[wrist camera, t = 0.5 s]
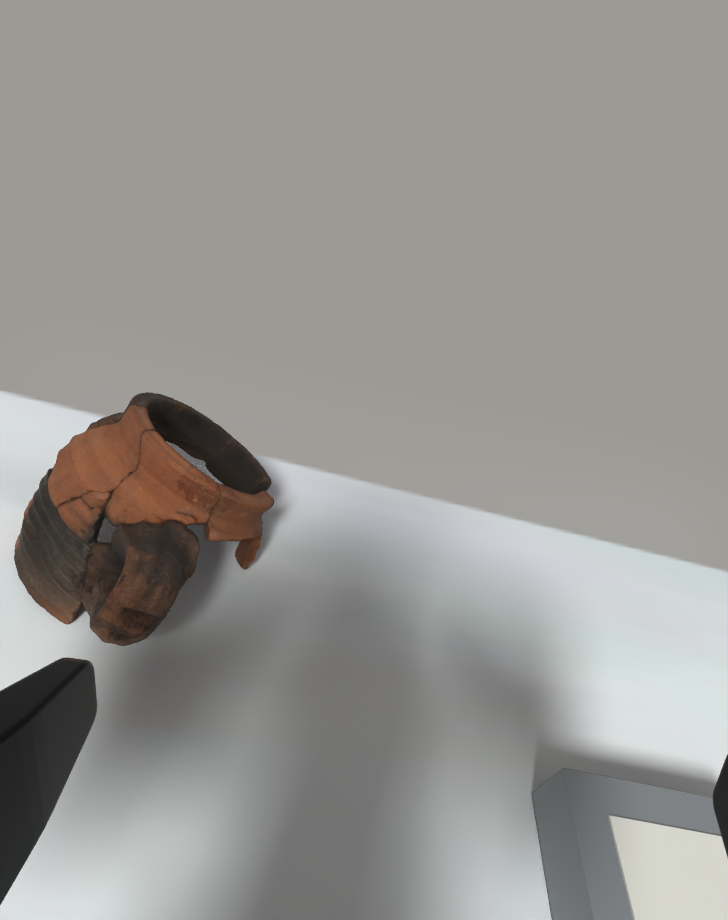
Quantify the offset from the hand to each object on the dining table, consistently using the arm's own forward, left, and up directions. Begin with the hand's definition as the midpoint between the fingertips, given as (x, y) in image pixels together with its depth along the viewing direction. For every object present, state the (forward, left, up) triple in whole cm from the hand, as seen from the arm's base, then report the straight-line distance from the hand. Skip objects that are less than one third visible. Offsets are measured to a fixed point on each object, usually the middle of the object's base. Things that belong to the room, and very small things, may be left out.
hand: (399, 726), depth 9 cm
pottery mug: (+13, +6, -16) cm, 22 cm away
